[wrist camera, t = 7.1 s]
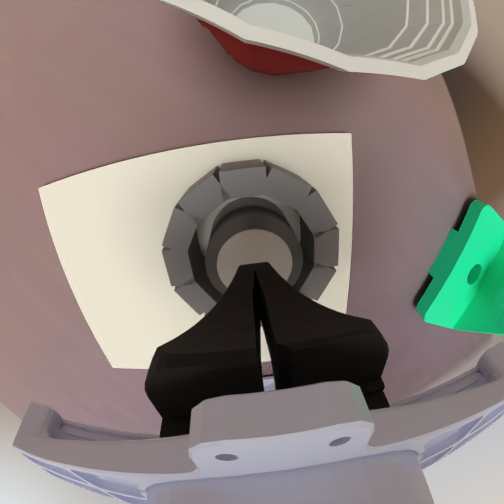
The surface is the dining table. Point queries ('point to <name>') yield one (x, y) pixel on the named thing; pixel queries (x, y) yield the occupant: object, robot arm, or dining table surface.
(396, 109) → the dining table surface
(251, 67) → the plastic cup
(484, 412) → the robot arm
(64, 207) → the board
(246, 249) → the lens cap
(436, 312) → the camera mount
